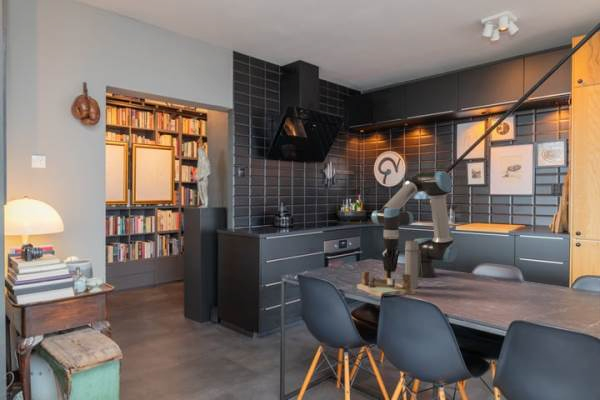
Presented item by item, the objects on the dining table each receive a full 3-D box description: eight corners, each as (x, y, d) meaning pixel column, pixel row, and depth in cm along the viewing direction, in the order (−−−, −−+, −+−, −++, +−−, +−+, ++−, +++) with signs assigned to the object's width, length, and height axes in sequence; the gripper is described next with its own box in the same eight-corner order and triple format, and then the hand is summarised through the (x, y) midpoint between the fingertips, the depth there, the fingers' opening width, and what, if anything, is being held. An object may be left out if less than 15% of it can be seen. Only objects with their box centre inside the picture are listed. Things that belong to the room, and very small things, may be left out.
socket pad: (386, 286, 203) (386, 286, 203) (399, 291, 194) (399, 290, 194) (370, 288, 199) (370, 287, 199) (382, 293, 190) (382, 292, 190)
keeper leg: (369, 285, 204) (369, 277, 204) (394, 286, 202) (394, 278, 202) (369, 286, 202) (369, 278, 202) (394, 288, 199) (394, 279, 199)
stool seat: (389, 284, 217) (389, 268, 217) (414, 293, 198) (415, 275, 198) (357, 287, 208) (357, 271, 208) (380, 297, 189) (381, 278, 189)
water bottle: (402, 288, 209) (403, 241, 209) (406, 285, 216) (406, 240, 216) (420, 290, 205) (421, 242, 204) (423, 287, 212) (423, 241, 211)
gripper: (389, 239, 191) (388, 287, 191) (404, 238, 200) (403, 283, 200) (377, 238, 197) (376, 284, 197) (392, 236, 205) (391, 281, 206)
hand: (390, 284), depth 199 cm, fingers closed
